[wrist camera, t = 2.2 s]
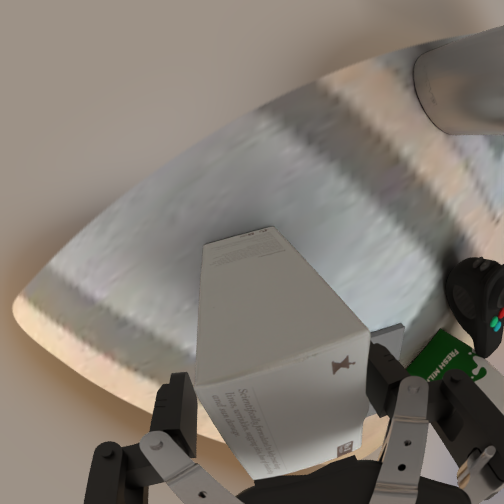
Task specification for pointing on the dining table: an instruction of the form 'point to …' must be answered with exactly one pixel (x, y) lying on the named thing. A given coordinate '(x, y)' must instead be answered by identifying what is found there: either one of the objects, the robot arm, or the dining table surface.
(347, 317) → the skincare box
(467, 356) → the milk carton
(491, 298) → the controller
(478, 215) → the dining table surface
